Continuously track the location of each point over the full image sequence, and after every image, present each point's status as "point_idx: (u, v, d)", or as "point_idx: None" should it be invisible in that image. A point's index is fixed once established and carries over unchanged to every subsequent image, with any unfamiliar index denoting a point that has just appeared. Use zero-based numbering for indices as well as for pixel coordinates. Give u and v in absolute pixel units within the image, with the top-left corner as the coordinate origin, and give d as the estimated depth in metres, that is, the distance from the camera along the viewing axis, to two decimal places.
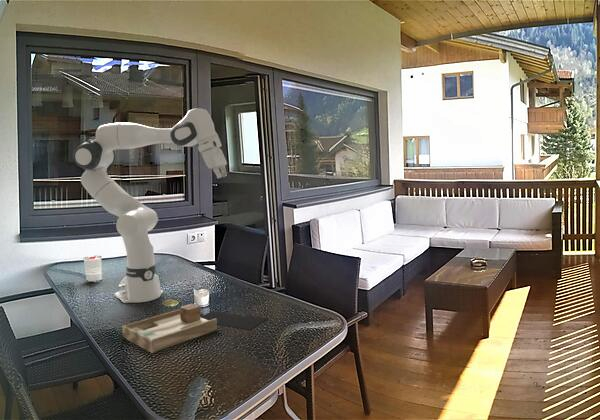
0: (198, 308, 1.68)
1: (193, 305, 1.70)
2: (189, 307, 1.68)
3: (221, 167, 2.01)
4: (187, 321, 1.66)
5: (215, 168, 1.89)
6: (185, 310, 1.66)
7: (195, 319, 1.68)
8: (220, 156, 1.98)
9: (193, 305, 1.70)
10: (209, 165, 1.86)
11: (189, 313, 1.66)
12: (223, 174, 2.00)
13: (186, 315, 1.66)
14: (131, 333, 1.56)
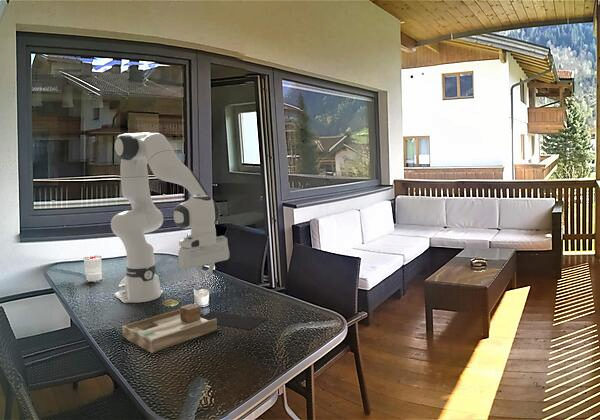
0: (198, 308, 1.68)
1: (193, 305, 1.70)
2: (189, 307, 1.68)
3: (209, 263, 1.74)
4: (187, 321, 1.66)
5: (197, 267, 1.70)
6: (185, 310, 1.66)
7: (195, 319, 1.68)
8: (212, 253, 1.72)
9: (193, 305, 1.70)
10: (179, 265, 1.65)
11: (189, 313, 1.66)
12: (207, 272, 1.74)
13: (186, 315, 1.66)
14: (131, 333, 1.56)
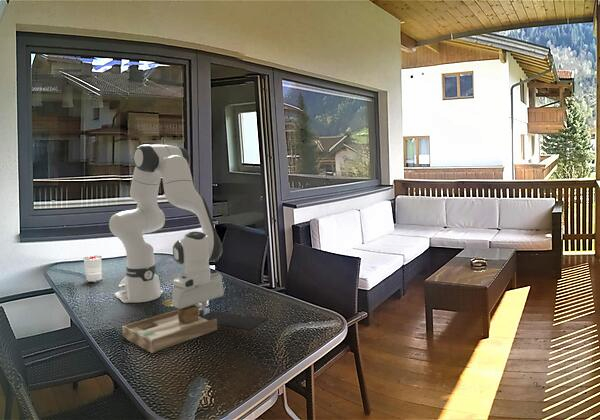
0: (196, 308, 1.68)
1: (191, 306, 1.69)
2: (187, 307, 1.67)
3: (201, 302, 1.72)
4: (185, 322, 1.65)
5: None
6: (183, 311, 1.65)
7: (193, 320, 1.67)
8: (206, 291, 1.71)
9: (191, 305, 1.69)
10: (173, 305, 1.65)
11: (187, 314, 1.65)
12: None
13: (184, 316, 1.65)
14: (131, 333, 1.56)
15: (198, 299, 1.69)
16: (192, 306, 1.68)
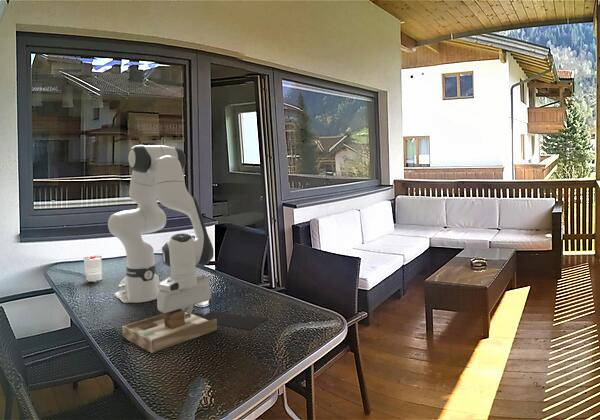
0: (182, 313, 1.63)
1: (177, 310, 1.65)
2: (173, 312, 1.63)
3: (188, 306, 1.68)
4: (171, 326, 1.61)
5: (180, 309, 1.65)
6: (169, 315, 1.61)
7: (179, 324, 1.63)
8: (193, 294, 1.67)
9: None
10: (158, 309, 1.60)
11: (173, 318, 1.61)
12: None
13: (170, 320, 1.61)
14: (131, 333, 1.56)
15: (184, 303, 1.65)
16: (178, 310, 1.64)
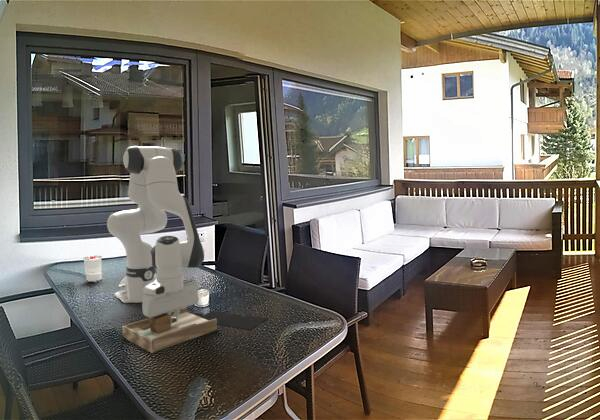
0: (168, 317, 1.59)
1: (163, 314, 1.61)
2: (159, 316, 1.59)
3: (174, 310, 1.64)
4: (157, 331, 1.57)
5: (166, 313, 1.61)
6: (154, 320, 1.57)
7: (165, 329, 1.59)
8: (179, 298, 1.63)
9: None
10: (143, 313, 1.56)
11: (158, 323, 1.57)
12: None
13: (155, 325, 1.57)
14: (131, 333, 1.56)
15: (170, 307, 1.60)
16: (164, 314, 1.60)
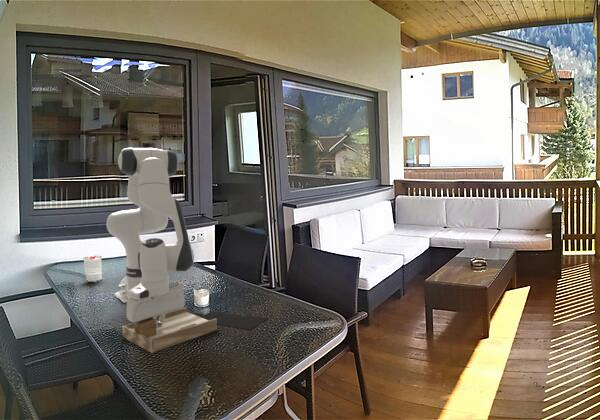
0: (153, 321, 1.56)
1: (148, 318, 1.57)
2: (144, 320, 1.55)
3: (159, 314, 1.60)
4: None
5: (151, 317, 1.57)
6: (139, 324, 1.53)
7: (150, 333, 1.55)
8: (165, 302, 1.59)
9: (148, 318, 1.57)
10: (127, 318, 1.52)
11: (143, 328, 1.53)
12: None
13: (140, 330, 1.53)
14: (131, 333, 1.56)
15: (155, 311, 1.57)
16: (149, 319, 1.56)
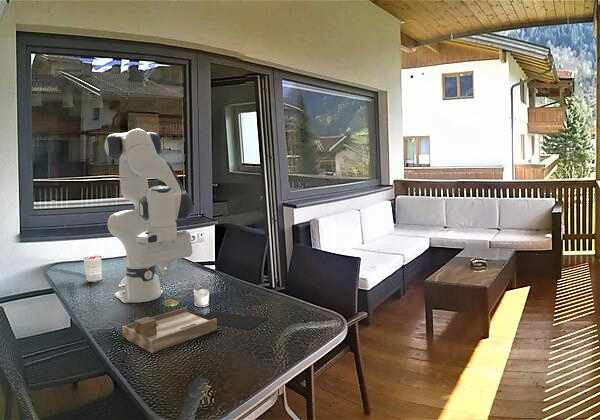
0: (154, 322, 1.56)
1: (149, 318, 1.57)
2: (144, 320, 1.55)
3: (167, 261, 1.62)
4: None
5: (158, 263, 1.59)
6: (139, 324, 1.53)
7: (151, 334, 1.55)
8: (173, 249, 1.61)
9: (149, 318, 1.58)
10: (136, 262, 1.54)
11: (144, 327, 1.53)
12: None
13: (140, 330, 1.53)
14: (131, 333, 1.56)
15: (163, 257, 1.58)
16: (150, 319, 1.57)
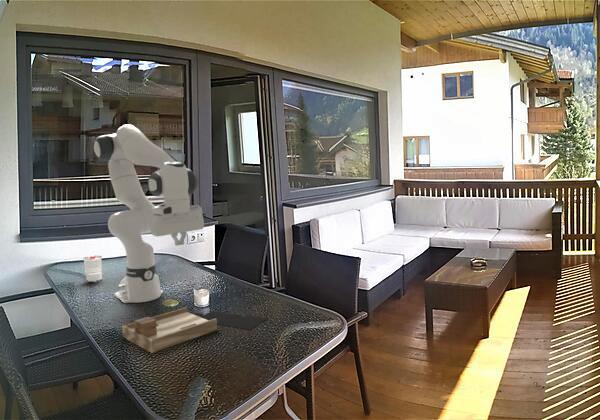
0: (154, 322, 1.56)
1: (149, 318, 1.57)
2: (144, 320, 1.55)
3: (181, 233, 1.71)
4: None
5: (172, 234, 1.68)
6: (139, 324, 1.53)
7: (151, 334, 1.55)
8: (186, 221, 1.70)
9: (149, 318, 1.58)
10: (152, 232, 1.63)
11: (144, 327, 1.53)
12: None
13: (140, 330, 1.53)
14: (131, 333, 1.56)
15: (177, 229, 1.68)
16: (150, 319, 1.57)
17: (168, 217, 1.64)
